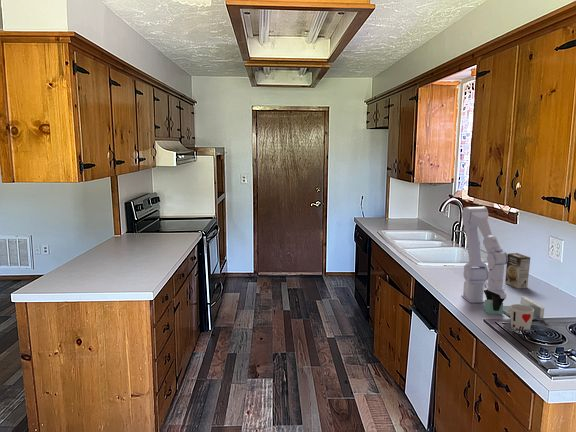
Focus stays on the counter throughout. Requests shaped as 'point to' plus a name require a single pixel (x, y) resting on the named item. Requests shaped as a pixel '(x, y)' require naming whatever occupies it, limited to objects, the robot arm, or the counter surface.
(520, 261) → the coffee box
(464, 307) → the counter surface
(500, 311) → the module
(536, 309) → the rail base
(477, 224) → the robot arm
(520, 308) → the cup
